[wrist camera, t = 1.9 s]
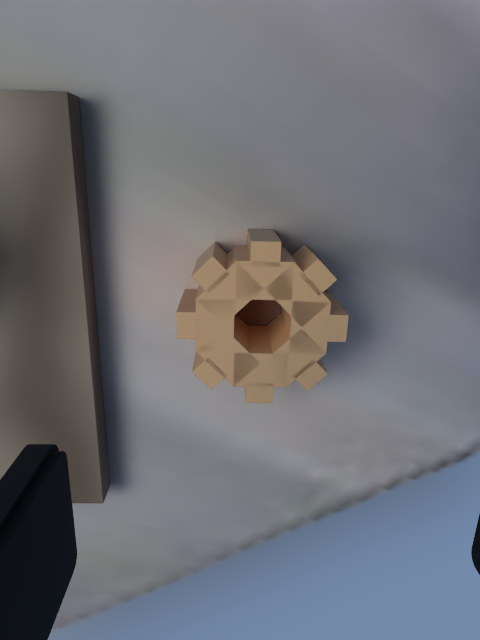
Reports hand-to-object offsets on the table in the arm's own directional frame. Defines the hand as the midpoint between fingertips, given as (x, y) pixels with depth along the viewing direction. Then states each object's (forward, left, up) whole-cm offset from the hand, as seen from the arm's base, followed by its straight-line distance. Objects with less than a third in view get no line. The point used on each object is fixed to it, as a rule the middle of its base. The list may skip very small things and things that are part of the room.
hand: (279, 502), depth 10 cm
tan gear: (0, -1, -13) cm, 13 cm away
